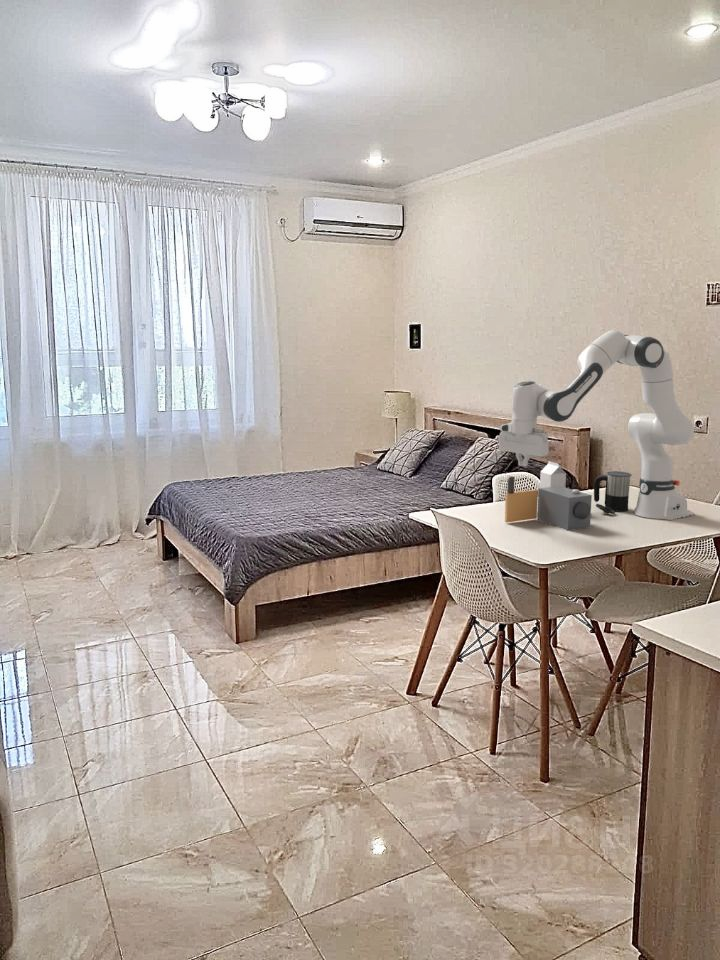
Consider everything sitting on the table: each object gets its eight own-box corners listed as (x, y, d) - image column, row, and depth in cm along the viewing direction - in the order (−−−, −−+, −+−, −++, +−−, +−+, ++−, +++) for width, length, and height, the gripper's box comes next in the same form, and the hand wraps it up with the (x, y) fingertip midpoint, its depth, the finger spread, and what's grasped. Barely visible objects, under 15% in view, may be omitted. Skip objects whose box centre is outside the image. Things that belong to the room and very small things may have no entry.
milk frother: (626, 507, 308) (628, 471, 305) (635, 516, 293) (638, 478, 290) (590, 506, 310) (591, 470, 307) (597, 515, 294) (599, 478, 291)
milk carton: (549, 512, 300) (551, 464, 296) (538, 508, 307) (540, 461, 303) (564, 510, 303) (566, 463, 299) (553, 506, 309) (555, 460, 306)
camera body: (558, 516, 293) (560, 482, 290) (593, 528, 275) (595, 493, 272) (537, 519, 289) (538, 485, 286) (571, 531, 271) (573, 495, 268)
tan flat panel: (537, 518, 288) (539, 474, 284) (507, 523, 282) (509, 477, 278) (533, 517, 290) (535, 473, 286) (503, 521, 284) (505, 476, 280)
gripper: (553, 429, 265) (551, 468, 268) (508, 424, 281) (507, 461, 284) (541, 431, 261) (540, 470, 264) (496, 425, 277) (495, 463, 280)
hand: (522, 465), depth 274 cm, fingers closed
